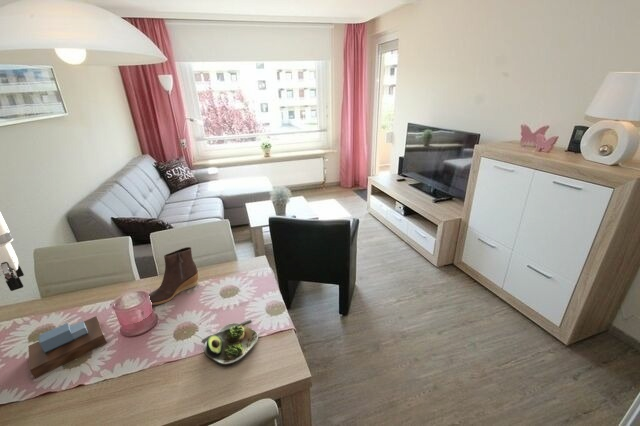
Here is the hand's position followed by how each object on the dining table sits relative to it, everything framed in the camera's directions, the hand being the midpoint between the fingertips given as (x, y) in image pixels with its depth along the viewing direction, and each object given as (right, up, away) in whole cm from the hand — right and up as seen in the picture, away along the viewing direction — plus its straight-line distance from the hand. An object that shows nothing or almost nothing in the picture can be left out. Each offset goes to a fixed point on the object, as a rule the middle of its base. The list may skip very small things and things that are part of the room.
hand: (17, 282), depth 103 cm
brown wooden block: (+16, -25, +3) cm, 29 cm away
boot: (+40, -12, +30) cm, 52 cm away
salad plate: (+74, -23, +1) cm, 78 cm away
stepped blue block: (+16, -21, +2) cm, 26 cm away
